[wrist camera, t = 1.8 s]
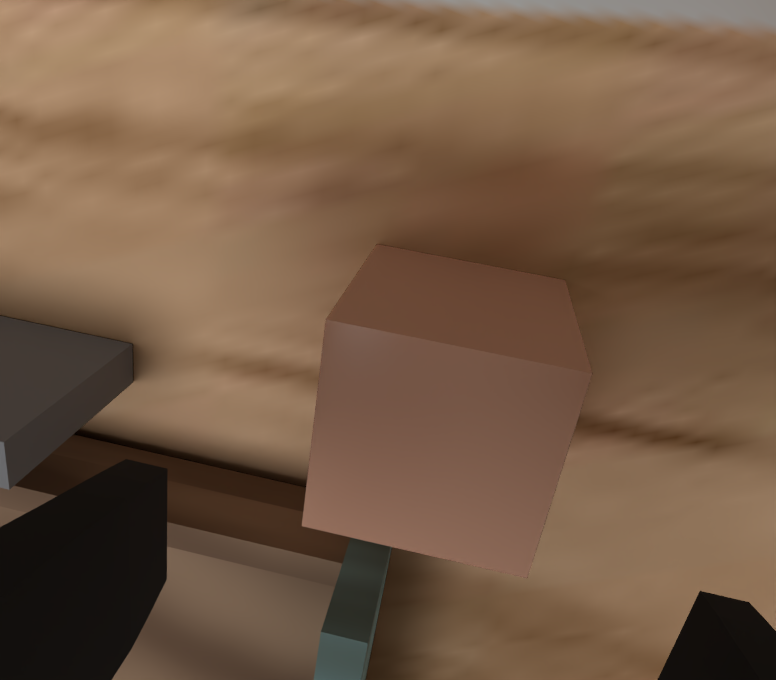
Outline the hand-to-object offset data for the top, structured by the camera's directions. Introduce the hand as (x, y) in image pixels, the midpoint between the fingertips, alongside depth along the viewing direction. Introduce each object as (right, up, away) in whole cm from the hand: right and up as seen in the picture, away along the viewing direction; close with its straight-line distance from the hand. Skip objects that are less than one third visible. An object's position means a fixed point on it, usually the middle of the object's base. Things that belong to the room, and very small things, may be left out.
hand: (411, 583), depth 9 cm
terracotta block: (+1, +3, +7) cm, 8 cm away
